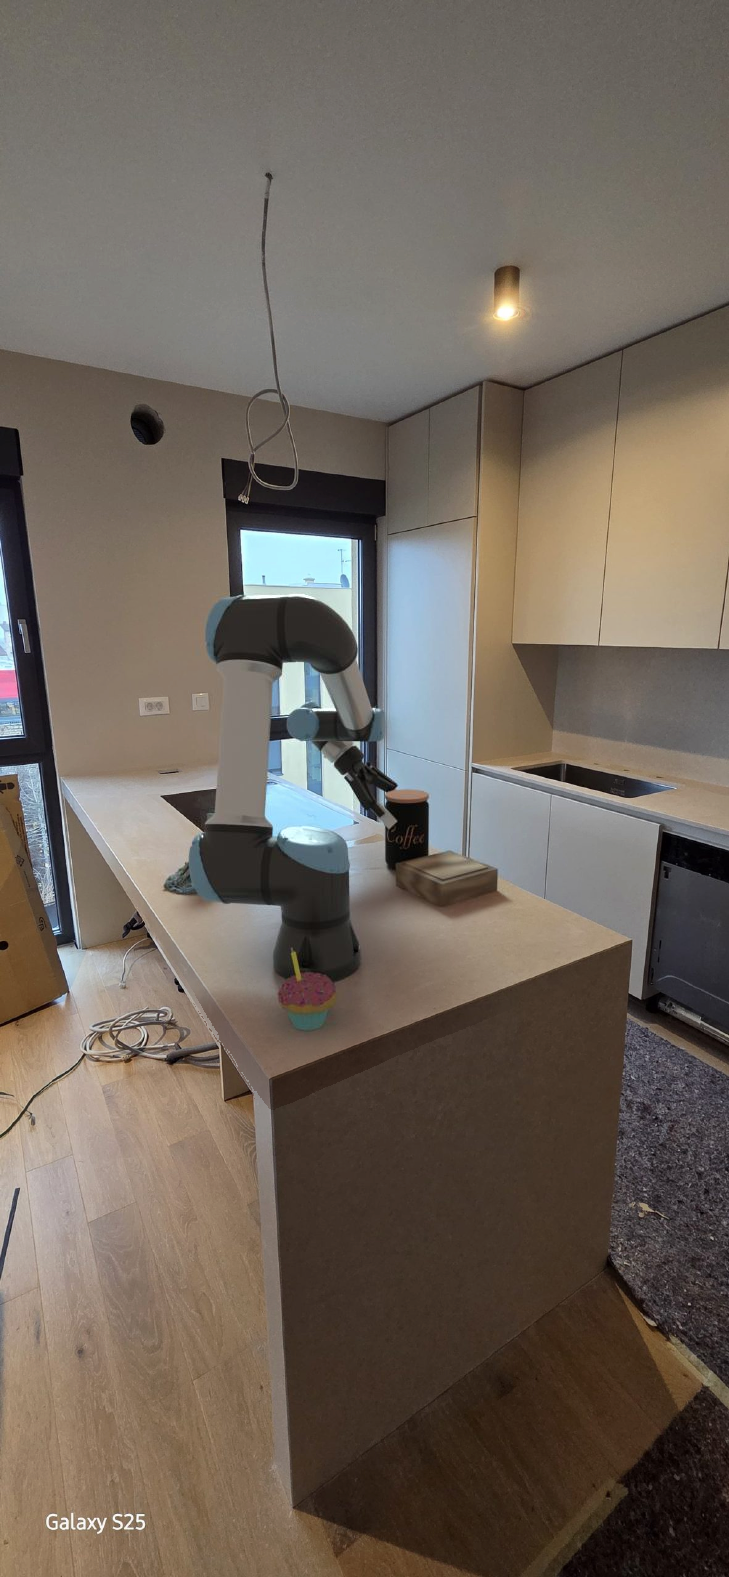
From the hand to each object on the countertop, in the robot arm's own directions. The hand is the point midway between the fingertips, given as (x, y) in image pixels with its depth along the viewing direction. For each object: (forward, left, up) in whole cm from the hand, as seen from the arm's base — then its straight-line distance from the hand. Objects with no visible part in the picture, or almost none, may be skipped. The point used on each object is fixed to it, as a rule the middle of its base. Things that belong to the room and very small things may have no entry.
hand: (401, 817), depth 161 cm
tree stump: (+18, +43, -12) cm, 48 cm away
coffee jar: (-2, 0, -12) cm, 12 cm away
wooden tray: (-19, +2, -12) cm, 22 cm away
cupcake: (-48, +53, -12) cm, 72 cm away
